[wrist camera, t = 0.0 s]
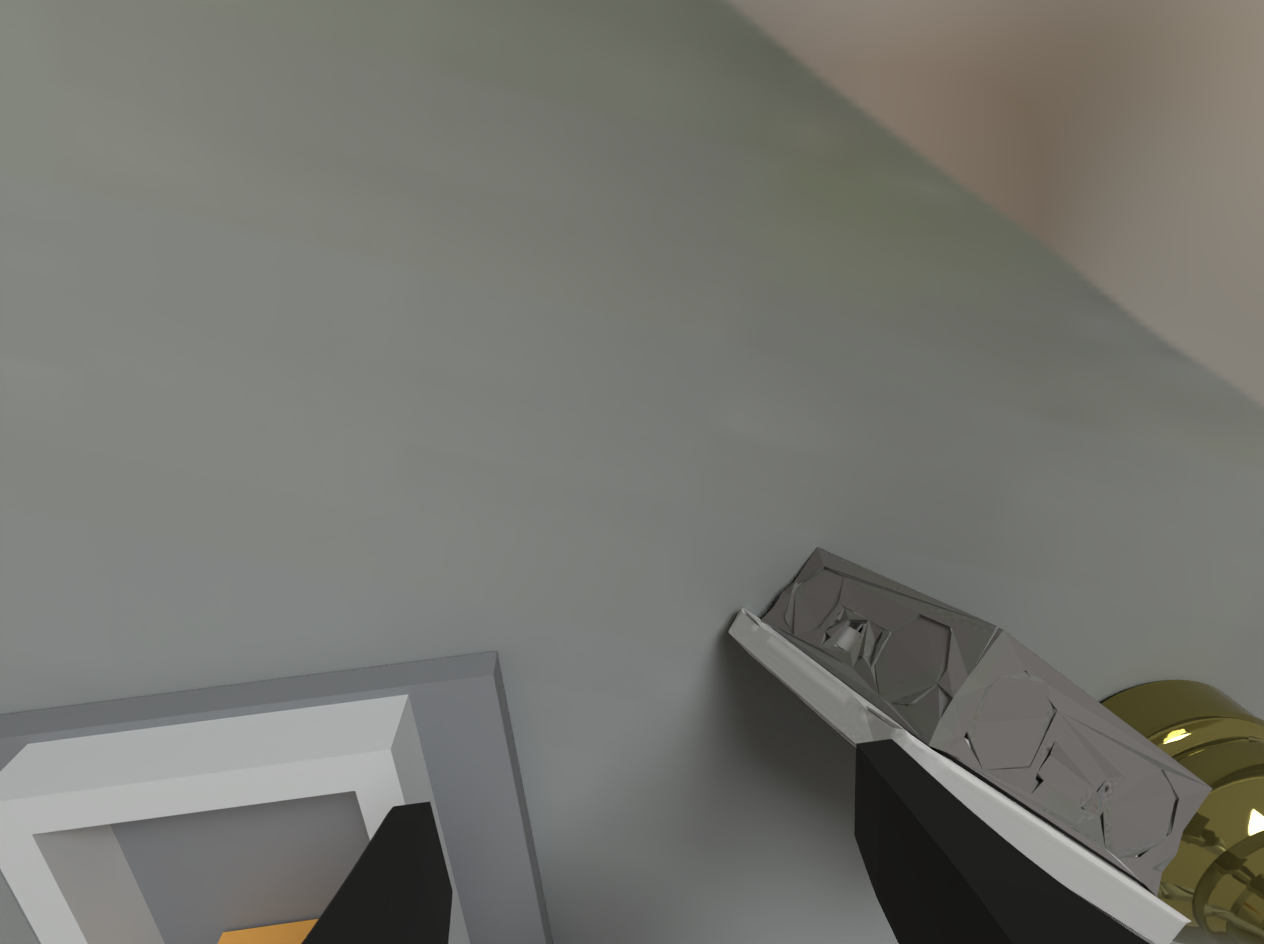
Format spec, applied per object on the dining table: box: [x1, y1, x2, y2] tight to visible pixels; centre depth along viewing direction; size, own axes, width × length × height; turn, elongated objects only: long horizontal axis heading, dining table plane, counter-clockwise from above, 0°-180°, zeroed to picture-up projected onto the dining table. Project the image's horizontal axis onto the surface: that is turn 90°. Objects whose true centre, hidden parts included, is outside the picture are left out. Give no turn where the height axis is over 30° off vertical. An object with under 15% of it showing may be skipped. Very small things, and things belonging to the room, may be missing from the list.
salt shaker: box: [1101, 680, 1264, 944], centre depth 22 cm, size 7×7×10 cm
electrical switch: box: [728, 547, 1212, 944], centre depth 19 cm, size 9×5×9 cm, turn 52°
